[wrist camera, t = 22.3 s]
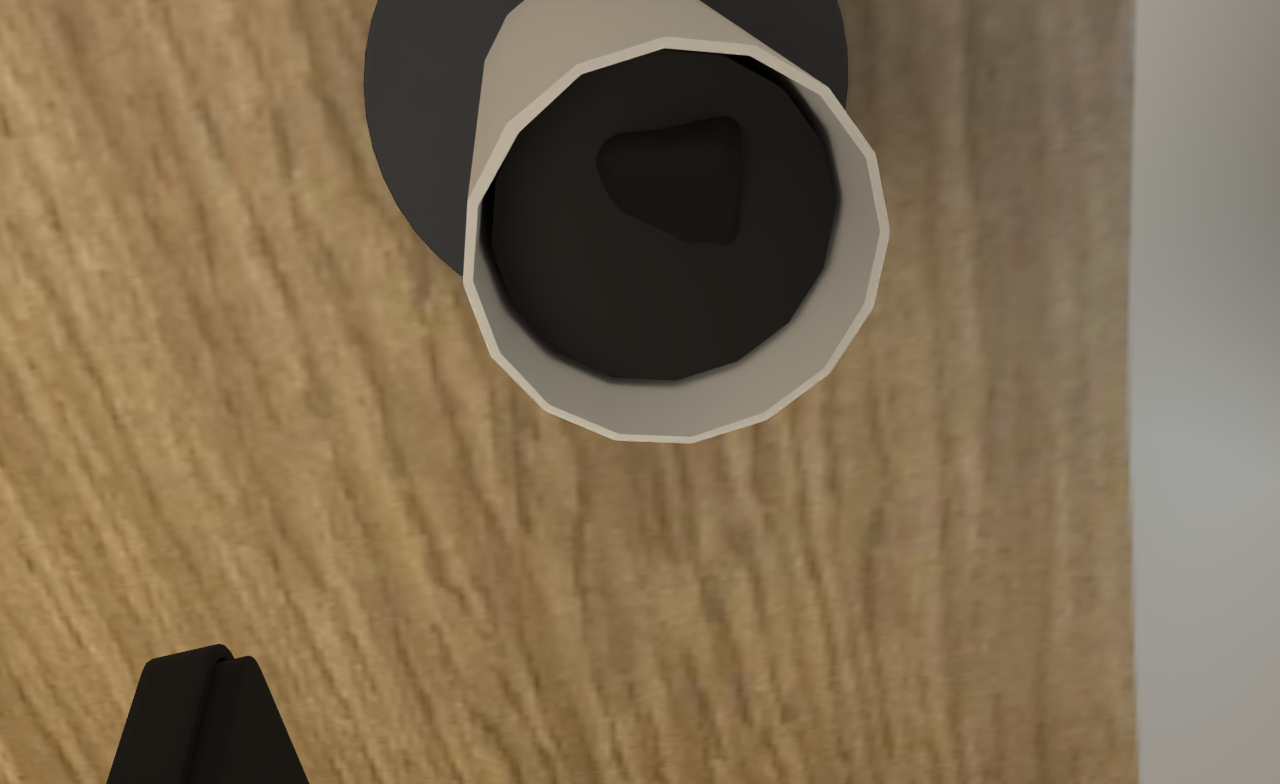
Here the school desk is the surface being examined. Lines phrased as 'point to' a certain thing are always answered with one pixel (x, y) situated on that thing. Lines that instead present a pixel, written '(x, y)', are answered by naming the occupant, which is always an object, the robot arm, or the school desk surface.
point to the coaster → (452, 79)
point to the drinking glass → (664, 219)
